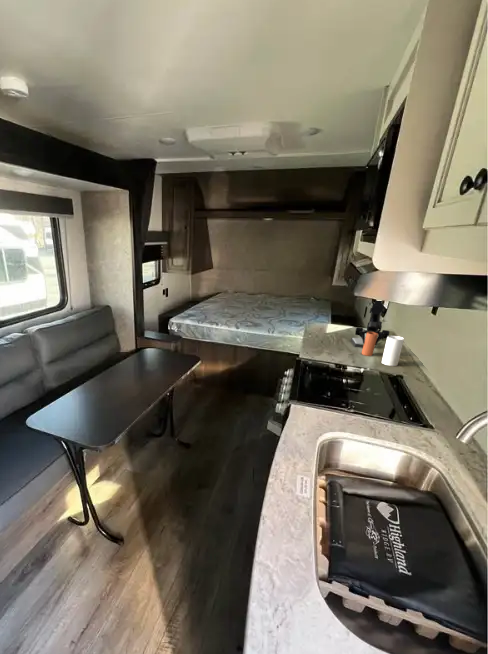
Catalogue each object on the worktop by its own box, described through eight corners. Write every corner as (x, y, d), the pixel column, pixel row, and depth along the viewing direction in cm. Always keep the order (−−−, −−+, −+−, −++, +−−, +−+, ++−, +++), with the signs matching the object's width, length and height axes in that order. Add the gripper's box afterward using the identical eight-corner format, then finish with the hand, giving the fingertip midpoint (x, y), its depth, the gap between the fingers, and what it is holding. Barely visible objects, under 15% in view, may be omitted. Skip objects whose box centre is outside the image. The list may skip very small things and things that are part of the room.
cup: (399, 366, 190) (406, 339, 184) (384, 365, 192) (390, 339, 186) (394, 361, 198) (400, 335, 192) (379, 360, 199) (385, 335, 193)
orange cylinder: (360, 351, 213) (366, 331, 208) (371, 353, 212) (376, 332, 206) (362, 355, 208) (368, 334, 202) (373, 356, 206) (379, 335, 201)
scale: (350, 340, 238) (351, 337, 237) (367, 341, 235) (368, 338, 234) (354, 346, 224) (355, 343, 223) (372, 348, 222) (373, 344, 221)
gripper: (358, 314, 208) (353, 335, 204) (392, 317, 200) (388, 339, 195) (357, 324, 218) (352, 344, 213) (390, 327, 209) (385, 348, 204)
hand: (369, 344), depth 206 cm, fingers closed on orange cylinder, 6 cm apart
